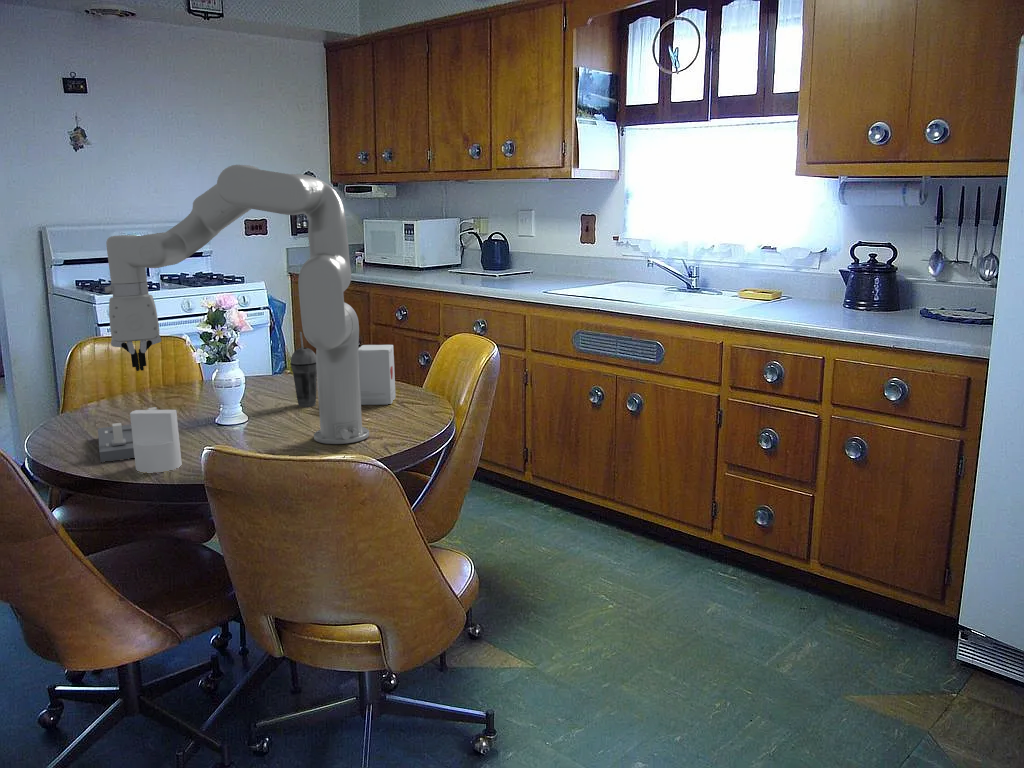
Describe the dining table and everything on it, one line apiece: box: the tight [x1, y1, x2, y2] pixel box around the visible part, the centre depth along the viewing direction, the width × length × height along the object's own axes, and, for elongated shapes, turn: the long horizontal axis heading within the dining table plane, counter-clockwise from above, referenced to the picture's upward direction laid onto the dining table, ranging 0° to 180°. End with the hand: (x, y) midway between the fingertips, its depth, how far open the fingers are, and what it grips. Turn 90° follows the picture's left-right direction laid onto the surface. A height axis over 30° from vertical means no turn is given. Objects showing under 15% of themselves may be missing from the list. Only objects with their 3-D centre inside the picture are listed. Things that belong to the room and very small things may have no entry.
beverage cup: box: [289, 331, 317, 408], centre depth 237 cm, size 7×7×20 cm
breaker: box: [111, 422, 126, 446], centre depth 195 cm, size 4×3×4 cm
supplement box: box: [358, 344, 396, 406], centre depth 240 cm, size 9×9×15 cm
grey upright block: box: [129, 409, 183, 473], centre depth 186 cm, size 9×9×12 cm
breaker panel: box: [97, 424, 135, 463], centre depth 203 cm, size 22×16×2 cm
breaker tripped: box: [147, 406, 158, 410], centre depth 209 cm, size 4×3×4 cm
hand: (139, 369), depth 206 cm, fingers closed
